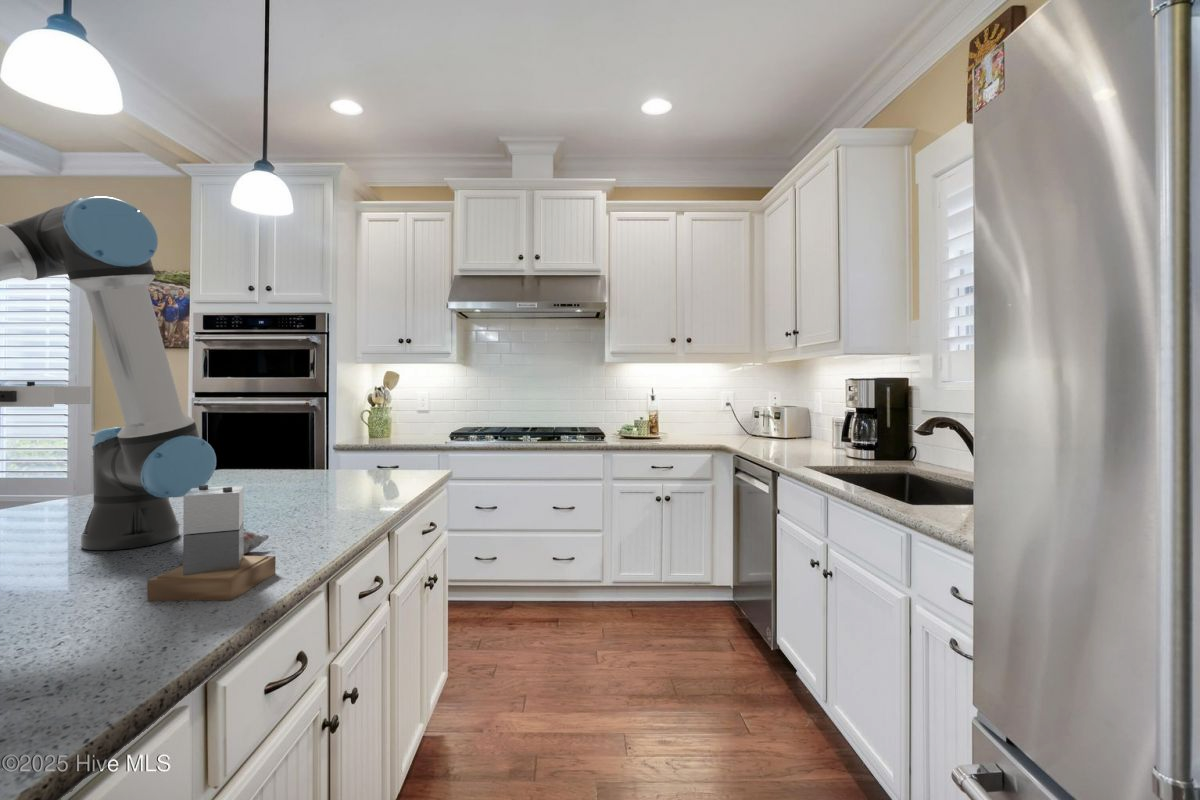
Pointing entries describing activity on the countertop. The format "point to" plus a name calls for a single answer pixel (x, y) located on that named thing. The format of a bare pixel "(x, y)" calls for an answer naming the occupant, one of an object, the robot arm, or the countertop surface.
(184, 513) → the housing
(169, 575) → the stand
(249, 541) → the packaged food
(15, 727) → the countertop surface
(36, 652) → the countertop surface
